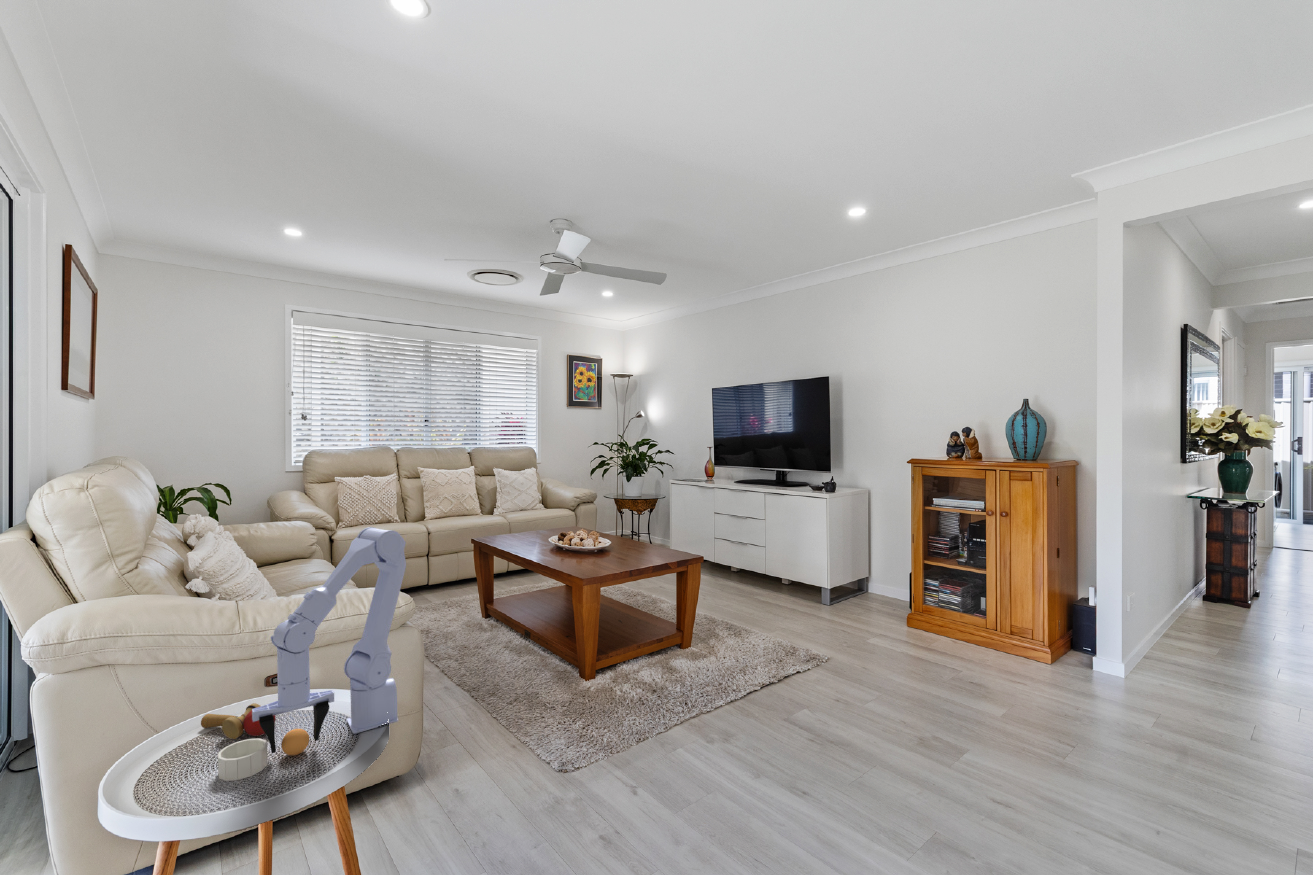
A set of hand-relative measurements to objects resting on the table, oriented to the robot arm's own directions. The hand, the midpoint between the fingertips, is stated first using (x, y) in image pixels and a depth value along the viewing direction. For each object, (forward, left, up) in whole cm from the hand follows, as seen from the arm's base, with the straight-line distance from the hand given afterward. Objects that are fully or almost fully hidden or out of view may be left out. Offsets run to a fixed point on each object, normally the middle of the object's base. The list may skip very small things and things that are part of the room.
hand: (295, 744), depth 126 cm
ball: (0, 0, +1) cm, 1 cm away
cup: (+9, 0, -2) cm, 9 cm away
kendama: (+9, -19, -2) cm, 21 cm away
